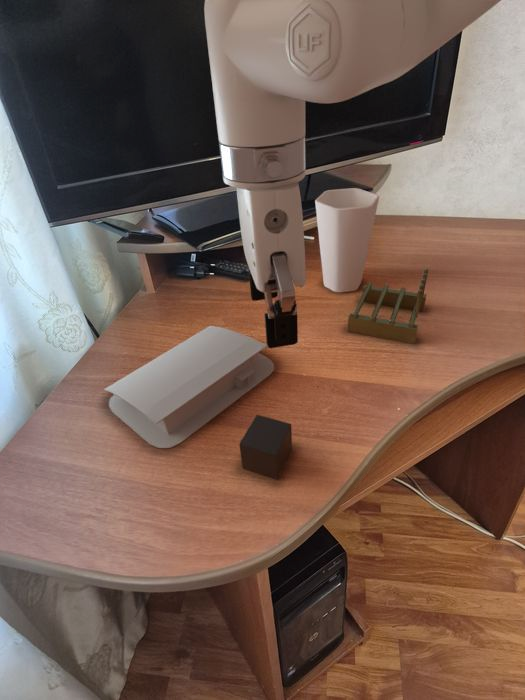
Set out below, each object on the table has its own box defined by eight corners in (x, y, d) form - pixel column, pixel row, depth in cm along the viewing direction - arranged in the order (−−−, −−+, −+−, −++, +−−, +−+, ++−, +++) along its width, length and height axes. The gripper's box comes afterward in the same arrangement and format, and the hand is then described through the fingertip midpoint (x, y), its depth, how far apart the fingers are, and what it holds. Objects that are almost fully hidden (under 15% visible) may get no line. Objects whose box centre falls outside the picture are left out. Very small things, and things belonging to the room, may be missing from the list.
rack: (423, 308, 78) (432, 264, 73) (414, 344, 71) (423, 297, 65) (362, 298, 82) (366, 255, 77) (347, 331, 74) (350, 286, 69)
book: (282, 365, 68) (281, 345, 66) (163, 456, 56) (156, 435, 53) (216, 330, 77) (213, 311, 75) (100, 401, 64) (92, 382, 62)
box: (292, 448, 55) (291, 423, 52) (277, 480, 52) (275, 455, 49) (259, 438, 57) (256, 414, 54) (242, 468, 53) (238, 443, 51)
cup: (381, 286, 86) (391, 198, 75) (342, 303, 81) (347, 213, 71) (342, 266, 93) (346, 184, 83) (304, 281, 89) (304, 197, 79)
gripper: (334, 182, 33) (327, 360, 43) (282, 135, 46) (287, 279, 57) (234, 195, 32) (252, 373, 42) (212, 143, 45) (230, 288, 56)
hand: (272, 319), depth 49 cm, fingers open, 9 cm apart
